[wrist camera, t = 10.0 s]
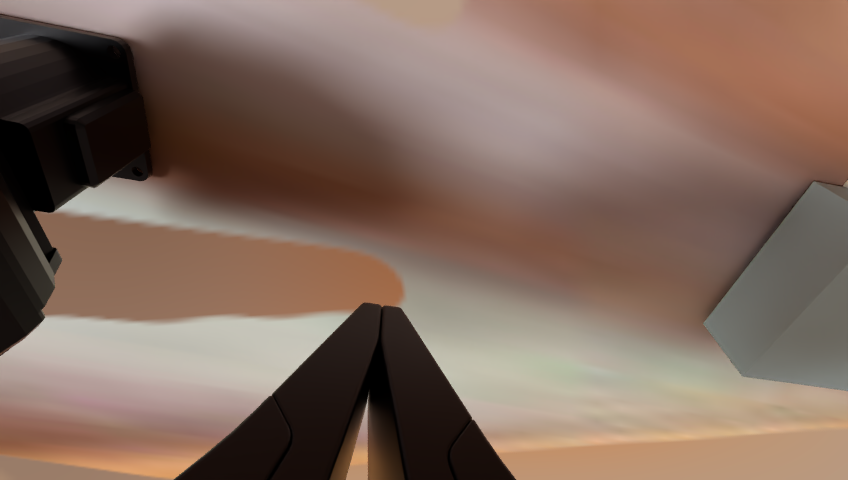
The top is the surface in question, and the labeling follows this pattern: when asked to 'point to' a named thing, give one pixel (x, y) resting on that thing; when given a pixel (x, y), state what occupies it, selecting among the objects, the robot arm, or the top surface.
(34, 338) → the top surface
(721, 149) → the top surface
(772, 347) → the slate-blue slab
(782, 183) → the top surface
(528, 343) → the top surface
